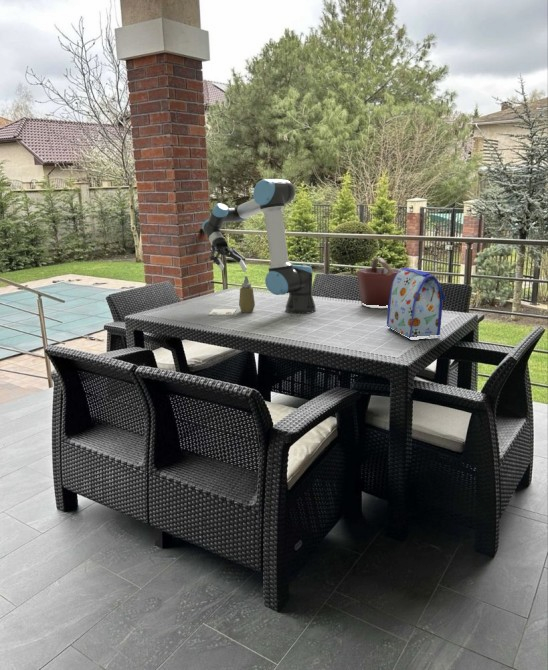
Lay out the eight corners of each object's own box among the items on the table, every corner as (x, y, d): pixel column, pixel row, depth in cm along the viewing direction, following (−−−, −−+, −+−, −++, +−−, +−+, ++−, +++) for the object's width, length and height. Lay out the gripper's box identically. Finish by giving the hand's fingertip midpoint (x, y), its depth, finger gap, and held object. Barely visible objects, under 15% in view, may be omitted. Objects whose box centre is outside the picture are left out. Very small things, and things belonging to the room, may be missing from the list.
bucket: (400, 311, 266) (403, 261, 259) (356, 310, 269) (357, 260, 263) (397, 301, 289) (399, 255, 283) (356, 301, 293) (357, 255, 286)
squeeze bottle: (241, 313, 265) (239, 278, 260) (237, 310, 272) (236, 275, 268) (256, 312, 267) (255, 277, 262) (253, 309, 275) (252, 274, 270)
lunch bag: (447, 338, 215) (451, 272, 208) (410, 342, 211) (413, 275, 204) (417, 326, 236) (420, 265, 229) (383, 329, 232) (386, 267, 225)
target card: (236, 310, 274) (236, 308, 273) (232, 315, 262) (232, 313, 262) (213, 310, 274) (213, 308, 274) (208, 315, 263) (208, 313, 263)
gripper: (235, 249, 288) (251, 275, 277) (195, 246, 273) (210, 273, 262) (241, 238, 284) (257, 264, 273) (200, 234, 269) (215, 262, 258)
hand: (234, 269), depth 267 cm, fingers open, 13 cm apart
